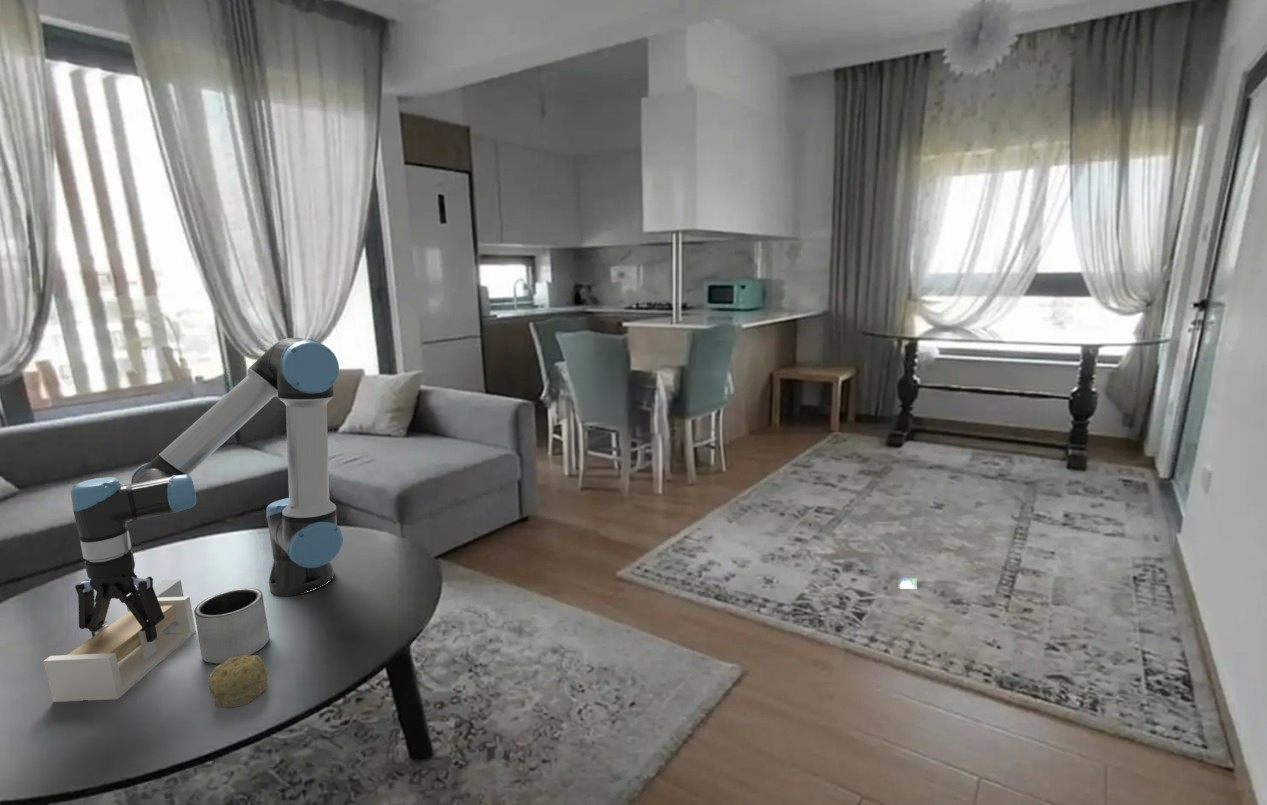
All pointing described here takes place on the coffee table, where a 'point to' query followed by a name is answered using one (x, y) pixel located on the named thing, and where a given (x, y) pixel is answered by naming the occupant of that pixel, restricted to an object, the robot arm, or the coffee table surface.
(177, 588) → the block
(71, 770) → the coffee table surface
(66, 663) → the shelf bay
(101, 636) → the board
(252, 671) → the decorative item
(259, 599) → the planter
